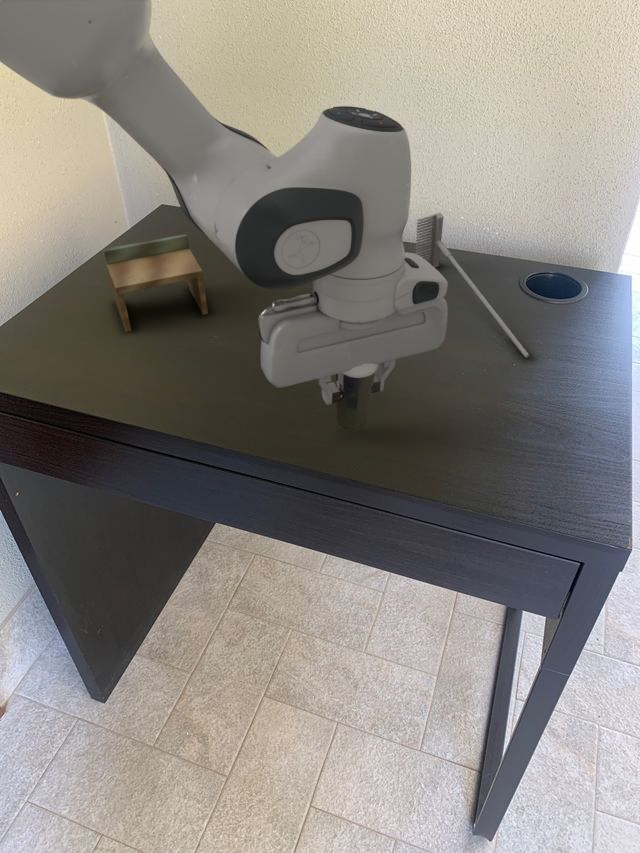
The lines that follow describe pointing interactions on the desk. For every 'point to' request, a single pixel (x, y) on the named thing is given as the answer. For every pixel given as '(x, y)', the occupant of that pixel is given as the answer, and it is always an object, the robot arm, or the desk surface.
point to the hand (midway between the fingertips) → (353, 394)
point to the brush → (434, 256)
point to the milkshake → (355, 395)
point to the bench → (153, 269)
